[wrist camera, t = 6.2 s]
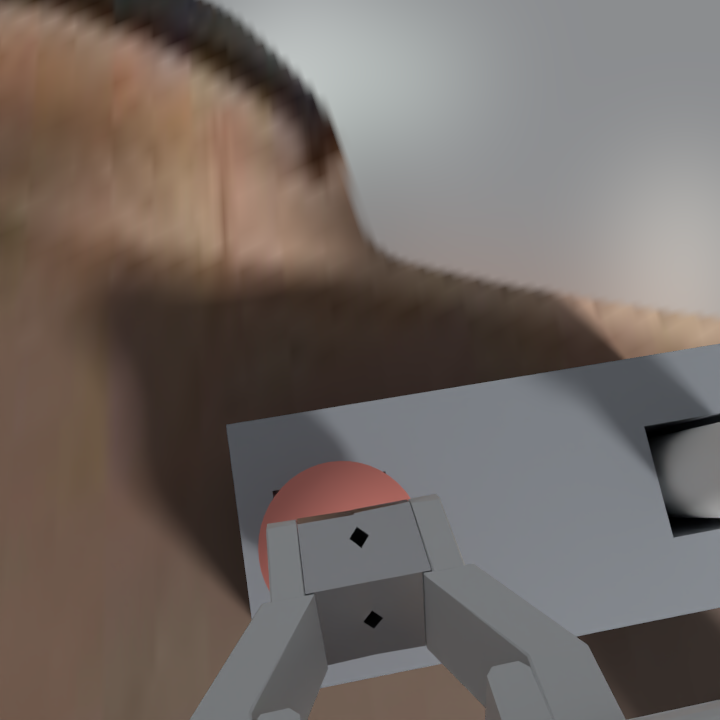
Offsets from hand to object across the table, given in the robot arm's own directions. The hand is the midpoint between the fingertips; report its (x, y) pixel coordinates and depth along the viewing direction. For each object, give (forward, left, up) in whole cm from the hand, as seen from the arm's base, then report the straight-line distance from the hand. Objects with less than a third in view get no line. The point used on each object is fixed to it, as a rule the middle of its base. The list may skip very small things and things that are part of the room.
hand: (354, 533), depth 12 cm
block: (+7, -1, -24) cm, 25 cm away
